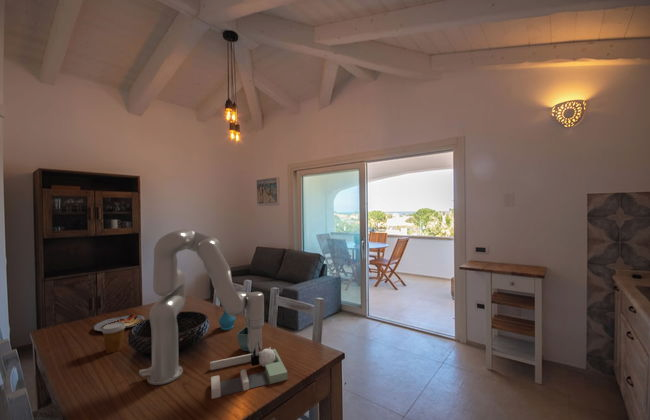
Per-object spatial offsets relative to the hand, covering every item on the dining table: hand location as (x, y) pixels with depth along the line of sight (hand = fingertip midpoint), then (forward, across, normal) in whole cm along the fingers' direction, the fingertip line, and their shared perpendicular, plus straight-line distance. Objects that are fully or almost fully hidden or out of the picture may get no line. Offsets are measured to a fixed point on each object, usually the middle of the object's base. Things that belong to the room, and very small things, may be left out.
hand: (255, 364), depth 121 cm
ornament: (+1, +1, +5) cm, 5 cm away
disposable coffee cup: (+2, -44, -61) cm, 75 cm away
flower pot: (+2, -18, 0) cm, 18 cm away
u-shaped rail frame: (+1, +4, -4) cm, 6 cm away
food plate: (+2, -79, -66) cm, 103 cm away
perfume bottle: (+2, -49, -8) cm, 50 cm away
